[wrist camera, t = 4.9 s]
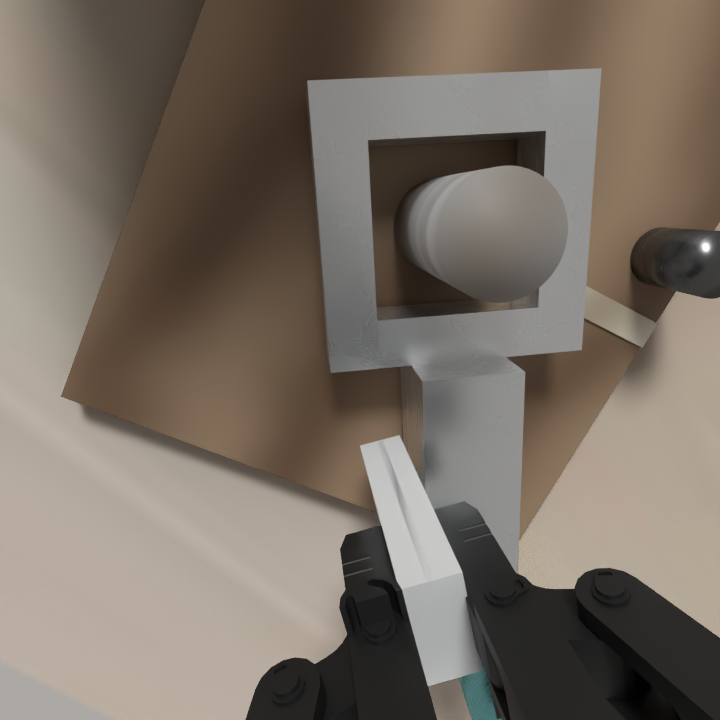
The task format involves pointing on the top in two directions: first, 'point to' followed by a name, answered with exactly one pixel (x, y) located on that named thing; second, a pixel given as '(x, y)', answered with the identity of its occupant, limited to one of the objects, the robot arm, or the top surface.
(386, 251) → the board
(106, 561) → the top surface
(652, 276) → the dowel
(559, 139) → the square loop handle
